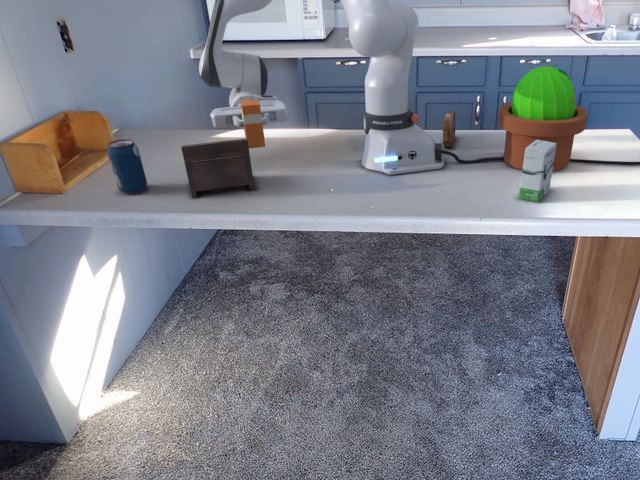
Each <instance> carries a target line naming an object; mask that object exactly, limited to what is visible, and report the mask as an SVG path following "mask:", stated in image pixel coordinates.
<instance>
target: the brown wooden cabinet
mask: <svg viewBox="0 0 640 480" xmlns="http://www.w3.org/2000/svg"><path fill="white" fill-rule="evenodd" d="M180 149H181V153H182V157H183V163H184V167H185V171H186V176H187V182H188V185H189V190H190V194H191V198H192V199H195V198H198V192H203V191H210V190H218V189H219V190H220V189H225V188H226V189H227V188H233V187H241V186H248V189H249V191H255V189H256V187H255V181H254V174H253V166H252V160H251V154H250V149H249V147H248V140H247V139H245V138H238V139H230V140H219V141H211V142H202V143H201V142H200V143H192V144H184V145H181V146H180Z"/></svg>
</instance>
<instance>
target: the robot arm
mask: <svg viewBox="0 0 640 480" xmlns="http://www.w3.org/2000/svg"><path fill="white" fill-rule="evenodd" d="M339 1H340V3H341V5H342V9H343V11H344V13H345V17H346V19H347V20H346V21H347V23H348V38H349V42H350V45H351V47H352V48H353V50H354V51H355V52H356V53H357V54H359V55H360V56H362V57H365V58H370V60H369V65H368V69H367V72H366V75H365V78H364V102H365V104H364V105H365V109H364V111H363V130H364V133H365V140H364V148H363V155H362V158H361V162H360V164H361V166H362V167H363V168H365V169H368V170H371V171H375V172H379V173H383V174H385V175H388V176H393V175H400V174H401V175H402V174H410V173H418V172H425V171H431V170H440V169H443V168H444V166H445V158H444V156H443V155H448V156H450V157H453V158H454V159H455V160H454V161H456V162H457V163H459V164H466V165H468V164H479V163H482V162H497V161H498V162H499V161H504V156H494V157H493V156H492V157H491V156H490V157H482V158H476V159H470V160H465V159H461V158H459V157H458V155H457V154H455V152H452V151H449V150H444V149H443V147H442V146H443V144H442V143H440V142H435V140H434V139H433V137H432V136H431V135H430V134H429V133H428V132H427V131H425V130H424V129H423V128H421V127H420V125H417V124H418V123H419V122H420V116H419V114H417V113H416V112H414V111H413V110H412V109H409V78H410V70H411V64H412V58H413V53H414V47H415V40H416V36H417V34H418V32H419V26H420V23H419V16H418V14H417V12H416V10H415V9H414V8H413V7H412V6H410V5H409V4H406V3H405V2H401V1H396V0H395V1H388V0H339ZM271 2H273V0H215V1H214V3H213V8H212V11H211V12H212V13H211V17H210V22H209V25H208V31H207V35H206V40H205V44H204V47H203V51H202V54H201V55H200V59H199V62H198V74H199V78H200V79H201V80H202V81H203V82H204V83H205V84H206V85H207V86H208V87H210V88H229V89H231V90H230V93H229V97H228V104H229V106H226V107H218V108H217V107H216V108H214V109H213V110H212V111H211V112H210V113H209V117H210V118H211V122H212V126H213V128H217V129H220V128H229V127H230V128H231V127H238V128H244V121H243V119H242V112H241V105H240V101H241V100H252V99H257V100H258V102H259V104H260V109H261V116H262V124H263V126H266V125H268V124H269V123H272V124H273V123H280V122H287V121H288V120H289V111H288V107H287V105H286V104H285V103H284V102H283V101H282V100H279V99H278V96H276V95H266V93H267V90H268V83H269V82H268V81H269V76H268V74H269V73H268V68H267V65H266V63H265V62H264V60H263V58H262V57H261V56H259V55H256V54H251V53H244V52H242V53H241V52H235V51H228V50H223V49H222V45H223V41H224V36H225V33H226V28H227V25H228V23H229V22H230V21H231V20H232V19H234V18H236V17H238V16H241V15H246V14H249V13H254V12H258V11H260V10H262V9H265V8H266V7H267V6H269V5H270V3H271ZM570 163H576V164H579V163H580V164H590V165H610V166H614V165H615V166H640V161H621V160H620V161H619V160H597V159H584V158H583V159H581V158H570Z"/></svg>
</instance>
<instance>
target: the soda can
mask: <svg viewBox="0 0 640 480" xmlns="http://www.w3.org/2000/svg"><path fill="white" fill-rule="evenodd" d="M107 145H108V146H107V147H108V148H107V151H106V152H107V156H108V159H109V163H110V166H111V169H112V173H113V177H114V180H115V183H116V187H117V189H118V190H119V191H120V192H121V193H122V194H124V195H137V194H140V193H142V192H144V191H145V190H146V189H147V186H148V181H147V177H146V173H145V169H144V165H143V162H142V158H141V154H140V149H139V147H138V146H137V144H136V143H135V141H134V140H133V139H131V138H129V139H128V138H127V139H126V138H124V139H123V138H122V139H116V140H113V141H110V142H108V144H107Z"/></svg>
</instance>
